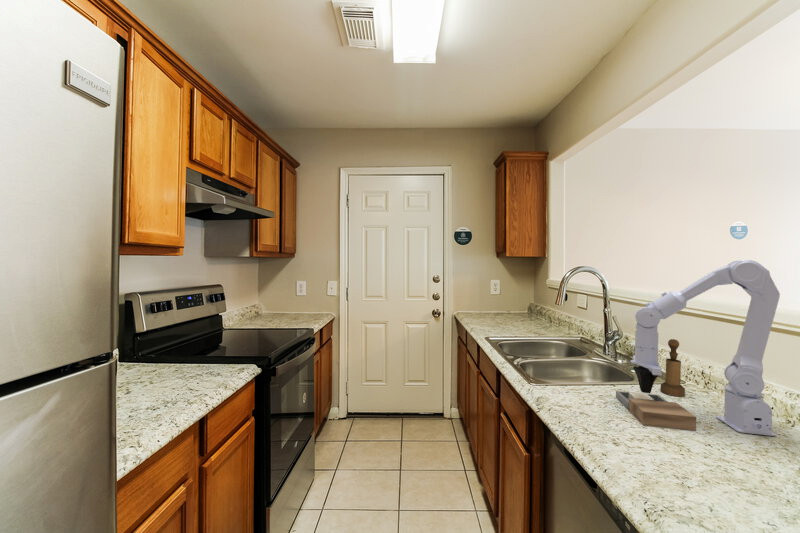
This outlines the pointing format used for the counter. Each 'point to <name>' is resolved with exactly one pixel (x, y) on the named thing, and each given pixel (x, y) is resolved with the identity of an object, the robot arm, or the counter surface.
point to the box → (624, 396)
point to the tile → (639, 396)
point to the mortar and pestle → (673, 373)
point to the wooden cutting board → (662, 414)
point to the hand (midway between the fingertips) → (645, 392)
